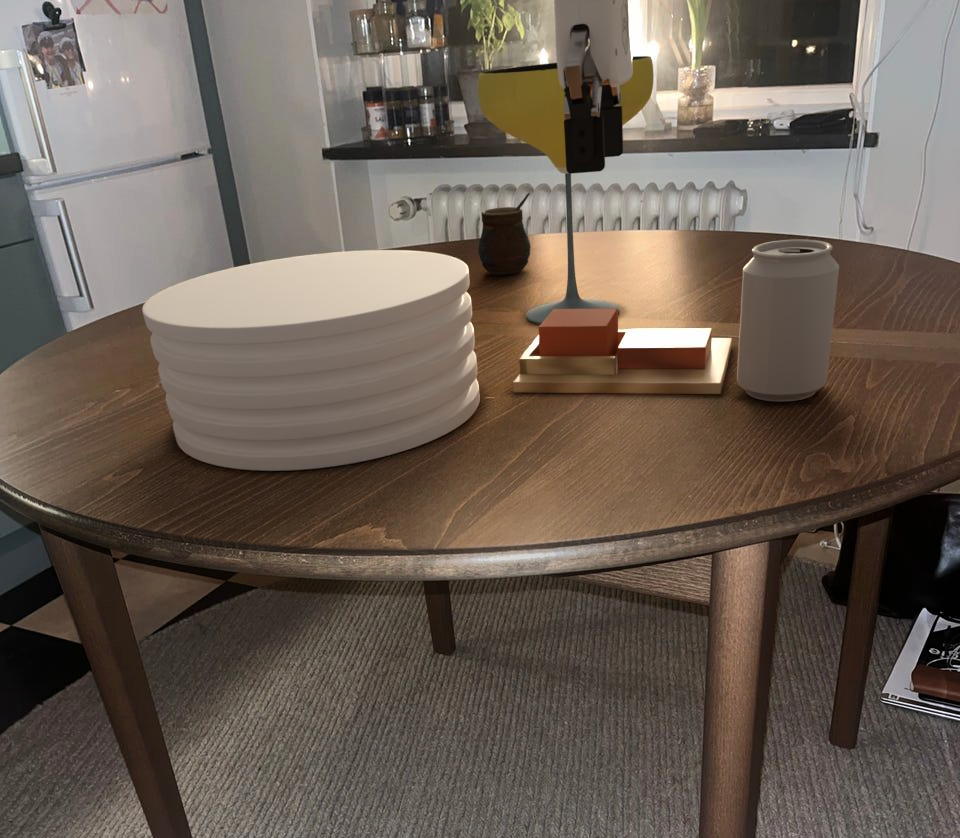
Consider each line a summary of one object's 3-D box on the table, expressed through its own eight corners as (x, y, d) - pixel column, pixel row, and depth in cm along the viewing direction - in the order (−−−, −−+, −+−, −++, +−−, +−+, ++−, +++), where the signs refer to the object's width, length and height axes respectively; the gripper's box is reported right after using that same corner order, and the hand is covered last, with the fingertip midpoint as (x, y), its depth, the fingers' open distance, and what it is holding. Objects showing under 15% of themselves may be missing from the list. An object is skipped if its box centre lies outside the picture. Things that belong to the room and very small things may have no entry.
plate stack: (542, 395, 89) (536, 263, 83) (291, 499, 73) (260, 346, 67) (355, 352, 107) (338, 241, 101) (121, 428, 91) (84, 303, 85)
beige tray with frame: (731, 347, 96) (733, 317, 95) (720, 394, 85) (722, 360, 84) (546, 348, 102) (545, 319, 100) (513, 392, 90) (511, 360, 89)
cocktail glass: (679, 300, 114) (685, 52, 101) (599, 341, 102) (594, 66, 89) (550, 290, 124) (540, 63, 110) (464, 327, 112) (441, 77, 99)
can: (837, 381, 85) (853, 236, 79) (809, 409, 80) (824, 256, 74) (754, 373, 89) (763, 234, 83) (722, 399, 84) (729, 252, 78)
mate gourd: (480, 268, 139) (474, 192, 133) (533, 264, 138) (529, 187, 133) (478, 279, 132) (472, 200, 127) (534, 275, 132) (530, 195, 127)
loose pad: (618, 349, 96) (618, 307, 94) (607, 369, 91) (606, 326, 89) (554, 349, 98) (553, 309, 95) (540, 369, 92) (538, 326, 90)
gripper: (617, -91, 68) (623, 175, 77) (649, -76, 82) (651, 148, 91) (514, -76, 71) (532, 182, 80) (563, -63, 85) (573, 155, 93)
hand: (596, 164), depth 85 cm, fingers open, 9 cm apart
